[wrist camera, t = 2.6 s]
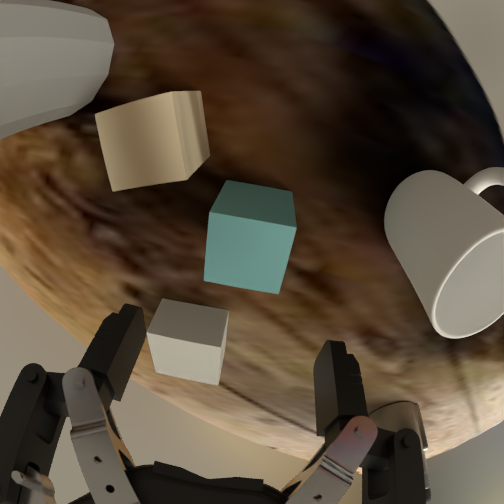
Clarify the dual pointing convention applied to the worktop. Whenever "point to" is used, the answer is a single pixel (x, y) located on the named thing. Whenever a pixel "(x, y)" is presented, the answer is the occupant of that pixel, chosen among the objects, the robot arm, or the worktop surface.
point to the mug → (450, 248)
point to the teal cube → (250, 236)
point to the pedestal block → (188, 340)
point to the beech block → (154, 139)
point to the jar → (49, 61)
